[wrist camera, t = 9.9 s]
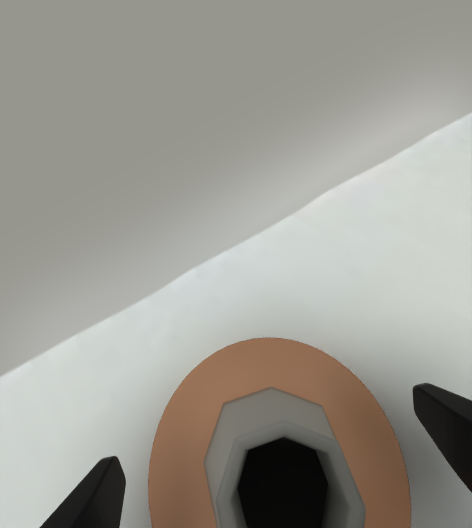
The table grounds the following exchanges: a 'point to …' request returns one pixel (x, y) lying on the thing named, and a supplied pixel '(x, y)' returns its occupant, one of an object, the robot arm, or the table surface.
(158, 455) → the terracotta dish
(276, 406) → the flask
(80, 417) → the table surface
